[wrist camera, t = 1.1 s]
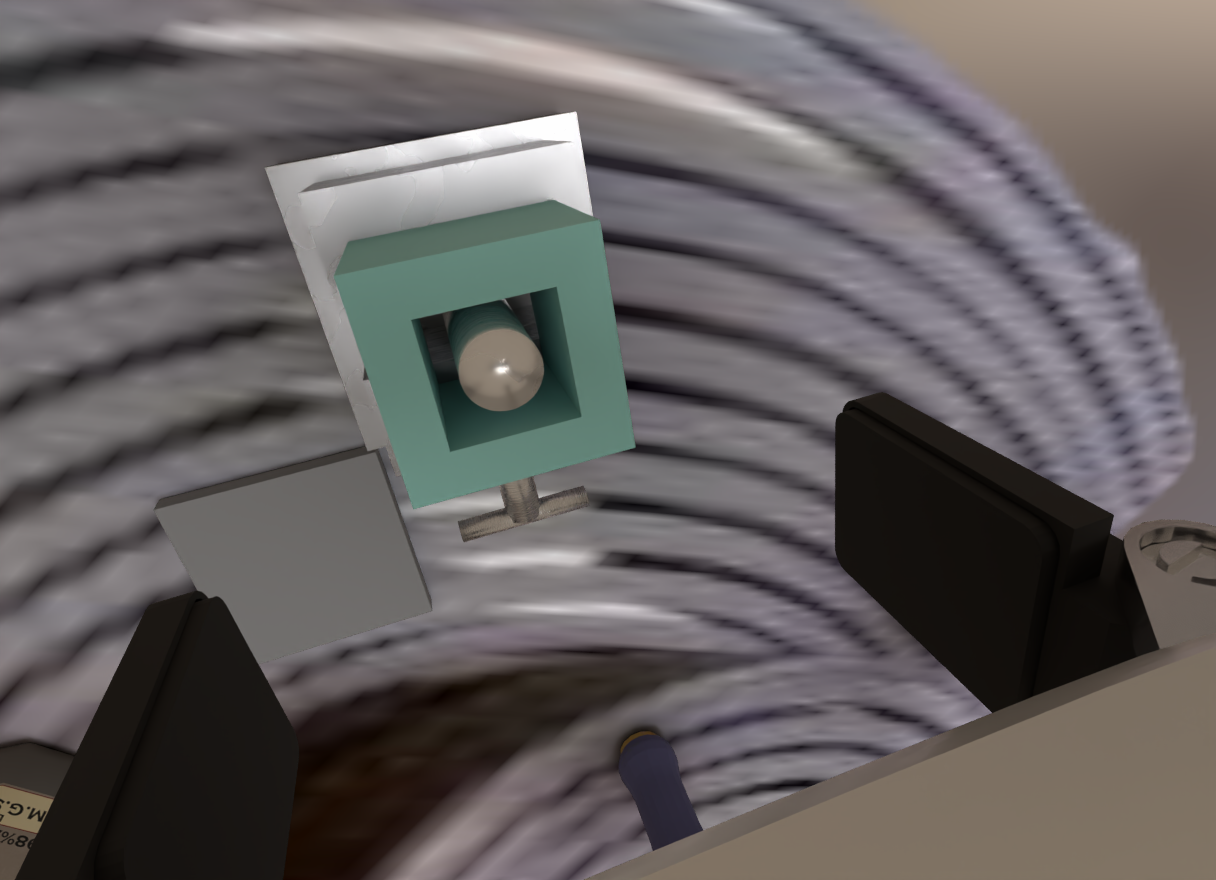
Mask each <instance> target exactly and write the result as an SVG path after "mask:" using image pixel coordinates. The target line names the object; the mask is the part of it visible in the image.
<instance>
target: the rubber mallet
mask: <svg viewBox="0 0 1216 880" xmlns="http://www.w3.org/2000/svg"><path fill="white" fill-rule="evenodd" d="M620 752H621V755H620V759H619V774H620V776H621V779H622V781H623V782H624V784H625V785H626V787H627V788H628V790H629V791H630V793H631V794H632V796H633V798H634V800H635V802H636V805H637V807H638V810H639V813H640V816H641V818H642V821H643V824H644V826H645V829H646V832H647V835H648V837H649V840H650V843H651V846H652V850H653V851H655V850H657V849H659V848H662V847H664V846H667V845H669V844H672V843H674V842H676V841H679V840H681V839H684V838H686V837H689V836H691V835H694V834H696V833H698V832H701V831H703V829H702V827H701V825H700V823H699V821H698V818H697V816H696V814H695V811H694V809H693V807H692V804H691V802H690V800H689V797H688V795H687V793H686V790H685V788H684V786H683V784H682V781H681V777H680V774H679V767H678V761H677V757H676V755H675V752H674V751H673V749H672V747H671V745H670V744H669V742H668V741H666V740H665V739H663V738H661V737H659V736H658V735H656V734H655V733H652V732H650V731H644V732H638V733H636V734H634V735H632V736H630V737H629V738H628V739H627V740H626V741H625V742H624V743H623V745H622V747H621V750H620Z"/></svg>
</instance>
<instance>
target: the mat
mask: <svg viewBox="0 0 1216 880" xmlns="http://www.w3.org/2000/svg"><path fill="white" fill-rule="evenodd" d="M154 512H155V514H156V516H157V518H158V519H159V521H160V523H161V525H162V527H163V529H164V530H165V532H166V534H167V536H168V538H169V539H170V541H171V543H172V545H173V547H174V548H175V550H176V552H177V554H178V556H179V558H180V559H181V561H182V563H183V565H184V567H185V568H186V570H187V572H188V574H189V576H190V577H191V579H192V581H193V583H194V585H195V587H196V588H197V590H198V591H201V592H203V593H204V594H205V595H206V596H207V597H208V598H212V597H215V596H218V597H220V598H221V599H222V600H223V601H224V602H225V604H226V605H227V607H228V609H229V611H230V613H231V615H232V616H233V618H234V620H235V622H236V624H237V626H238V628H239V629H240V631H241V633H242V635H243V637H244V639H245V640H246V642H247V644H248V646H249V648H250V650H251V652H252V653H253V655H254V657H255V659H256V661H257V663H258V664H261V663H265V662H268V661H271V660H274V659H278V658H281V657H284V656H287V655H291V654H294V653H297V652H300V651H304V650H307V649H310V648H313V647H317V646H320V645H323V644H326V643H330V642H333V641H336V640H339V639H343V638H346V637H349V636H352V635H356V634H359V633H362V632H365V631H369V630H372V629H375V628H378V627H382V626H385V625H388V624H392V623H395V622H398V621H401V620H405V619H408V618H411V617H414V616H418V615H421V614H424V613H427V612H431V611H432V602H431V597H430V595H429V592H428V589H427V586H426V583H425V581H424V578H423V575H422V572H421V569H420V566H419V564H418V561H417V558H416V555H415V552H414V549H413V547H412V544H411V541H410V538H409V535H408V532H407V530H406V527H405V524H404V521H403V518H402V516H401V513H400V510H399V507H398V504H397V501H396V499H395V496H394V493H393V490H392V487H391V484H390V482H389V479H388V476H387V473H386V470H385V468H384V465H383V462H382V459H381V456H380V453H379V451H378V449H374V450H371V451H367V448H366V446H365V447H362V448H358V449H354V450H350V451H346V452H342V453H338V454H334V455H331V456H327V457H323V458H319V459H315V460H311V461H307V462H304V463H300V464H296V465H292V466H288V467H284V468H280V469H277V470H273V471H269V472H265V473H261V474H257V475H253V476H249V477H246V478H242V479H238V480H234V481H230V482H226V483H222V484H219V485H215V486H211V487H207V488H203V489H199V490H195V491H191V492H188V493H184V494H180V495H176V496H172V497H168V498H164V499H161V500H159V502H158V504H157V505H156V507H155V508H154Z"/></svg>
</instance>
